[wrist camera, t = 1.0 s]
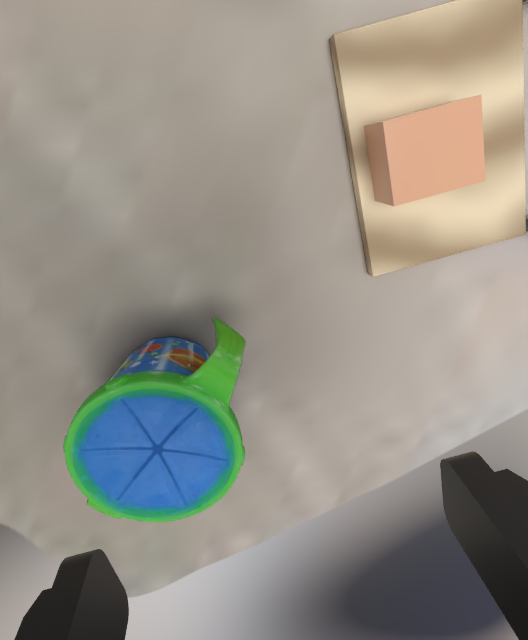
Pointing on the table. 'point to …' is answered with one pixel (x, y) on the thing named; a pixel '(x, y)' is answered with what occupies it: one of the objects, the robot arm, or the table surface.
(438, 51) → the beige wooden board
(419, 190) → the peach rectangular block
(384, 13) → the table surface
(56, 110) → the table surface
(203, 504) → the snack cup
